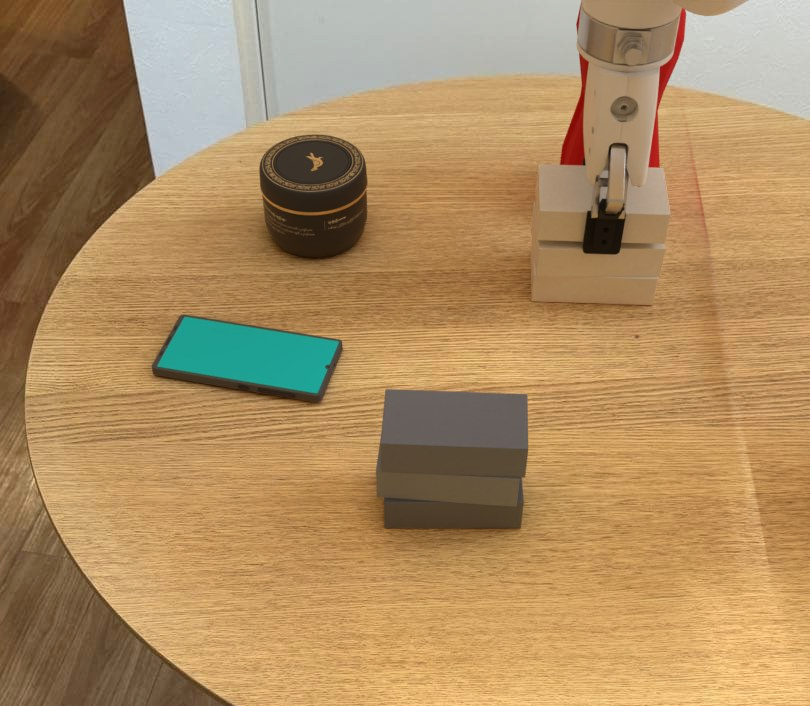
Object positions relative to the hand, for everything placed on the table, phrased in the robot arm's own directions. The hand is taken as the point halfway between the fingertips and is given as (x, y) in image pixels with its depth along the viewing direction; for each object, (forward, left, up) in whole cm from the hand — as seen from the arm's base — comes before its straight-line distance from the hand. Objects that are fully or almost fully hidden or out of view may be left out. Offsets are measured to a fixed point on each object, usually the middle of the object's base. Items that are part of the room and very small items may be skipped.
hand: (598, 223), depth 102 cm
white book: (0, 0, +1) cm, 1 cm away
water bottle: (-2, -14, -6) cm, 15 cm away
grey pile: (+12, +28, -6) cm, 31 cm away
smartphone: (+30, +13, -6) cm, 33 cm away
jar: (+26, -6, -6) cm, 27 cm away
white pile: (0, 0, -6) cm, 6 cm away
